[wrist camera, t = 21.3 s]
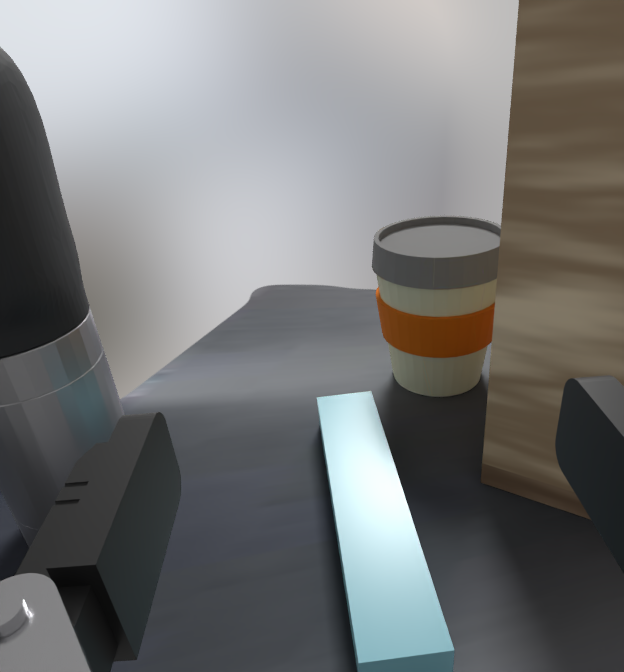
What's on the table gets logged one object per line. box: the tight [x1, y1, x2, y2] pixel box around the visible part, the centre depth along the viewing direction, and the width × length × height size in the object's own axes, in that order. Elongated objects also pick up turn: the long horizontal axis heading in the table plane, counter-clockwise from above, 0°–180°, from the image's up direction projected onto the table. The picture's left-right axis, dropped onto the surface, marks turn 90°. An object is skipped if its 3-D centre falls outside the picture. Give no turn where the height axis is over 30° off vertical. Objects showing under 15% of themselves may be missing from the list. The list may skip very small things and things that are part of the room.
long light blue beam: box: [317, 391, 454, 672], centre depth 39 cm, size 22×5×15 cm
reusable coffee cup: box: [372, 216, 501, 397], centre depth 52 cm, size 12×13×15 cm
